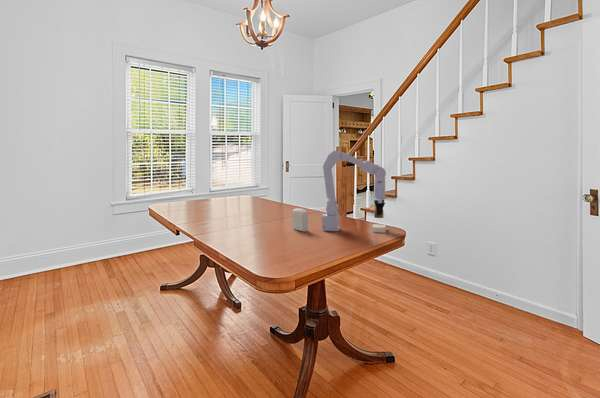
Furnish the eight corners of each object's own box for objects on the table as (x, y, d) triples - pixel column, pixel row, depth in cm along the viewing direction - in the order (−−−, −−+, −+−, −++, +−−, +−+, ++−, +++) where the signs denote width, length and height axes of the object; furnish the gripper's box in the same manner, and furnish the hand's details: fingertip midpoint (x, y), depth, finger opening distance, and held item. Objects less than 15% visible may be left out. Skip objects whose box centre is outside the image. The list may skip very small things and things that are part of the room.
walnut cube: (374, 217, 176) (374, 210, 176) (374, 216, 181) (374, 209, 180) (383, 218, 175) (383, 210, 175) (382, 216, 180) (382, 209, 179)
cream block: (372, 232, 177) (372, 227, 176) (372, 229, 183) (372, 224, 183) (385, 233, 175) (385, 227, 175) (385, 229, 182) (385, 224, 181)
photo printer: (291, 229, 187) (291, 207, 185) (297, 227, 189) (297, 206, 187) (303, 232, 179) (302, 210, 177) (309, 231, 182) (308, 209, 180)
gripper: (388, 191, 168) (387, 216, 170) (386, 187, 182) (385, 211, 184) (374, 191, 169) (373, 216, 171) (373, 187, 183) (372, 211, 185)
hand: (379, 214), depth 178 cm, fingers closed on walnut cube, 4 cm apart
